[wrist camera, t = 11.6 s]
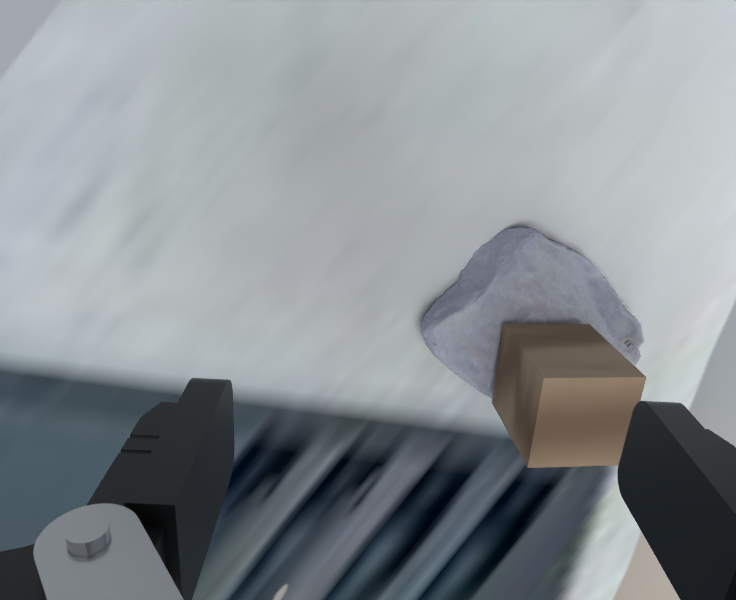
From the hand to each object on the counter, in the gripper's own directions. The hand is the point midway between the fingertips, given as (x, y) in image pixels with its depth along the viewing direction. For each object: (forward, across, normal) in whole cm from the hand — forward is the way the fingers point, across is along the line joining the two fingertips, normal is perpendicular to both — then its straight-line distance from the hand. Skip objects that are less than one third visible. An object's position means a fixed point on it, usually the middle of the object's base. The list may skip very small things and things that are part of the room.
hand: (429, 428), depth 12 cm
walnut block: (+20, -9, +9) cm, 24 cm away
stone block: (+25, -10, +8) cm, 28 cm away
